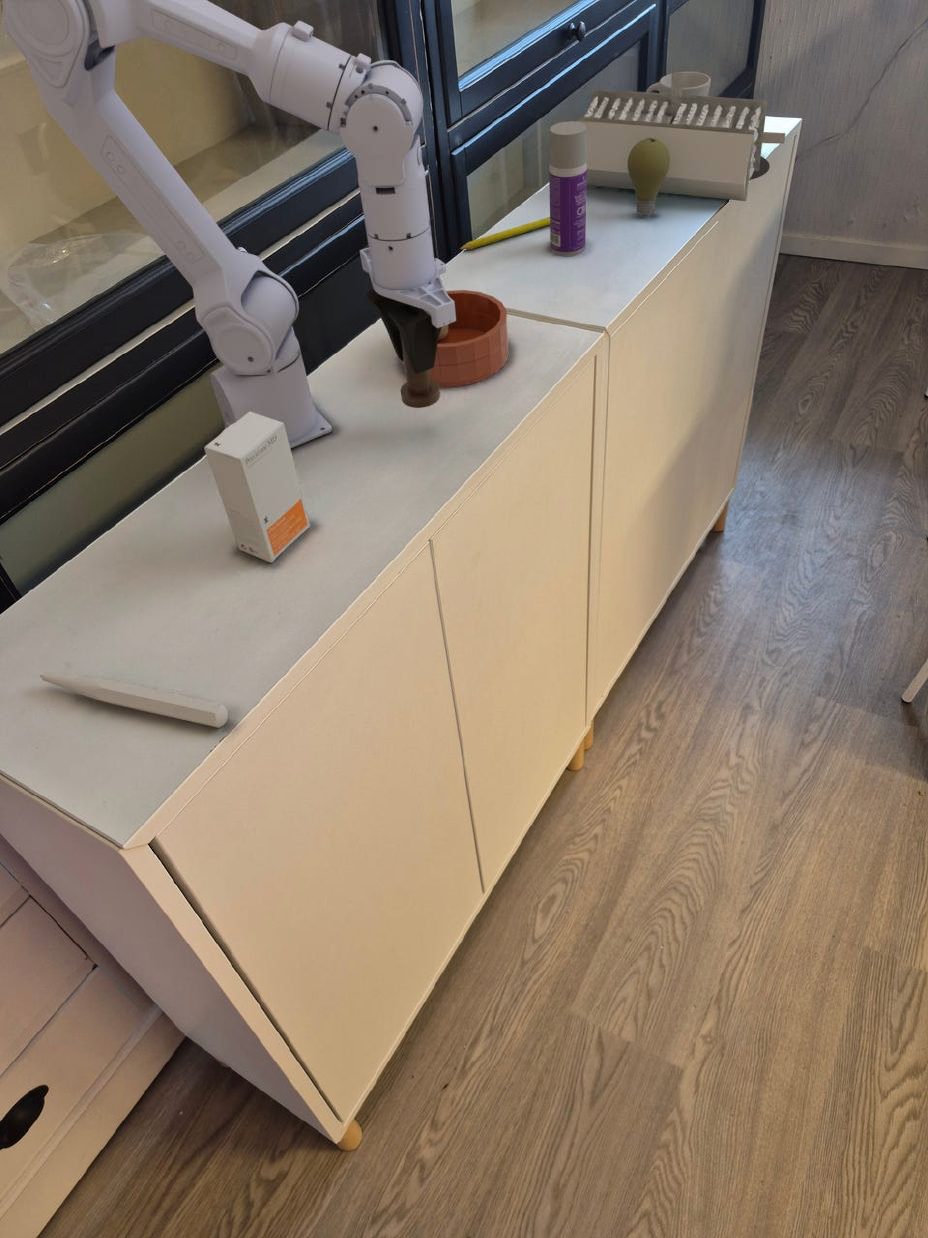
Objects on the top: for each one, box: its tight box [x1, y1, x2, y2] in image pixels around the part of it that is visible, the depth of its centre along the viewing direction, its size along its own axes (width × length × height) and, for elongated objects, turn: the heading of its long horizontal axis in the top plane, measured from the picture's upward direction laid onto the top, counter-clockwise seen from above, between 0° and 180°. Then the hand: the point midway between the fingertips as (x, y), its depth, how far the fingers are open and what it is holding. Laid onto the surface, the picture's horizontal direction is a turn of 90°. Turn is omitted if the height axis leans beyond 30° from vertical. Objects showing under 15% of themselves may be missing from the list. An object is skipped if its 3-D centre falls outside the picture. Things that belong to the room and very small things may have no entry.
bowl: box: [401, 289, 510, 388], centre depth 103 cm, size 12×12×5 cm
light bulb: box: [628, 138, 670, 218], centre depth 122 cm, size 6×6×10 cm
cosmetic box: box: [203, 412, 311, 564], centre depth 81 cm, size 6×4×12 cm
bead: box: [438, 324, 448, 341], centre depth 105 cm, size 3×3×3 cm
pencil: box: [459, 216, 550, 251], centre depth 124 cm, size 16×1×1 cm
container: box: [548, 120, 587, 257], centre depth 115 cm, size 5×5×15 cm
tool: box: [38, 672, 229, 729], centre depth 72 cm, size 17×2×2 cm
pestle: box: [399, 334, 441, 409], centre depth 89 cm, size 4×4×8 cm
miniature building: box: [575, 72, 787, 202], centre depth 124 cm, size 13×27×10 cm
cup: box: [645, 71, 712, 97], centre depth 139 cm, size 8×10×8 cm
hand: (416, 363), depth 89 cm, fingers closed on pestle, 2 cm apart
